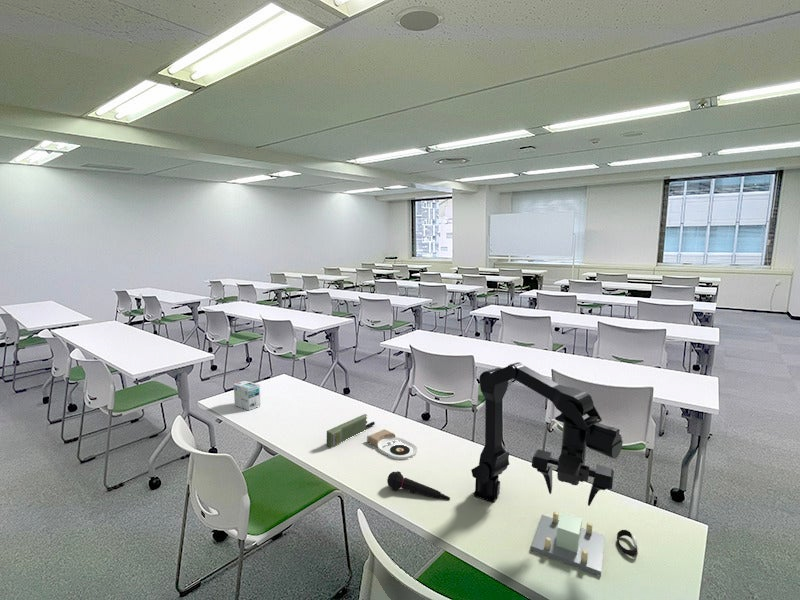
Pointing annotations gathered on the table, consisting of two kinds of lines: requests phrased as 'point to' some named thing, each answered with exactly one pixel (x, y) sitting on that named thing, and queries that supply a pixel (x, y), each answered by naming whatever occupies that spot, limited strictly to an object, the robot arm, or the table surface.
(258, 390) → the light bulb box
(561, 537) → the board block
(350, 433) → the handheld radio
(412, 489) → the microphone
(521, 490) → the table surface
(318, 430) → the table surface
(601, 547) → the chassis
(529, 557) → the table surface
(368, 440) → the record player
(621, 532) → the watch
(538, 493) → the table surface
